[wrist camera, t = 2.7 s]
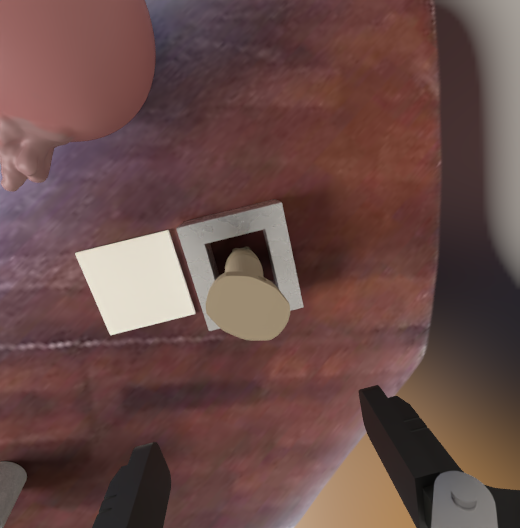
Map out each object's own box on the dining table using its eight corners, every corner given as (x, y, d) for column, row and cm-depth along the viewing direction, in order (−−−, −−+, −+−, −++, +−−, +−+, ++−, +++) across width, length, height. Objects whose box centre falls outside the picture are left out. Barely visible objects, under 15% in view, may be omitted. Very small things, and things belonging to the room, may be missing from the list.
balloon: (-12, 156, 31) (-229, 137, 17) (27, -61, 27) (-224, -354, 12) (134, 211, 34) (60, 236, 19) (192, 22, 30) (152, -131, 15)
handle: (226, 229, 36) (223, 263, 21) (274, 252, 37) (300, 299, 22) (209, 264, 37) (195, 319, 22) (256, 285, 38) (271, 350, 23)
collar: (183, 221, 35) (176, 228, 30) (275, 199, 35) (281, 202, 30) (212, 312, 38) (209, 331, 34) (294, 291, 39) (303, 307, 34)
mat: (76, 252, 35) (74, 253, 34) (168, 229, 35) (167, 230, 35) (111, 333, 38) (110, 335, 38) (195, 312, 38) (195, 313, 38)
